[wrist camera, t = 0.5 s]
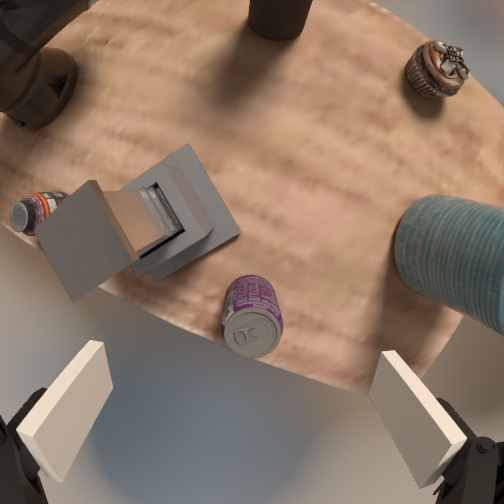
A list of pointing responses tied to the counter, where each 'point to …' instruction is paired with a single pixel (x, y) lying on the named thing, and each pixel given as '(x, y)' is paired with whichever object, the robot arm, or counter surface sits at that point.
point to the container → (278, 18)
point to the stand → (184, 214)
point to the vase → (455, 256)
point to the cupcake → (437, 70)
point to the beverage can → (251, 317)
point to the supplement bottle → (34, 210)
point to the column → (103, 233)
